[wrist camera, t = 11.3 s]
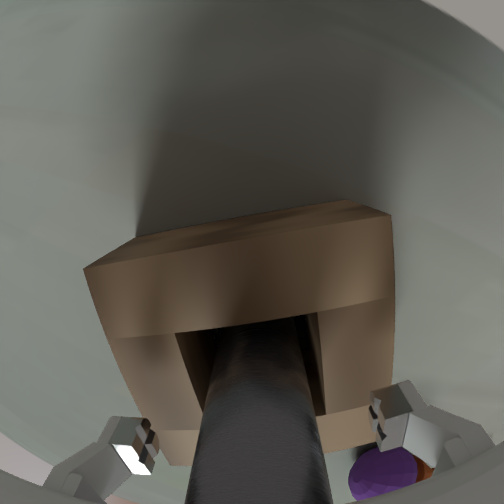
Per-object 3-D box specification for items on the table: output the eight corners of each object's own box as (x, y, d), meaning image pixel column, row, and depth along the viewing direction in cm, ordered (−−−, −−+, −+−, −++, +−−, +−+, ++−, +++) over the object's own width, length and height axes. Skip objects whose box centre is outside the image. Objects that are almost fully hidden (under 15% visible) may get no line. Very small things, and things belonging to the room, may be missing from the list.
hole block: (346, 199, 16) (390, 214, 10) (358, 377, 19) (384, 438, 13) (135, 237, 17) (83, 268, 11) (187, 402, 20) (170, 465, 14)
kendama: (463, 497, 20) (338, 517, 17) (451, 461, 26) (331, 461, 22) (501, 472, 18) (390, 493, 15) (486, 435, 23) (375, 429, 20)
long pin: (287, 281, 17) (344, 522, 4) (296, 341, 18) (338, 564, 5) (218, 293, 18) (148, 529, 4) (232, 351, 19) (203, 572, 5)
